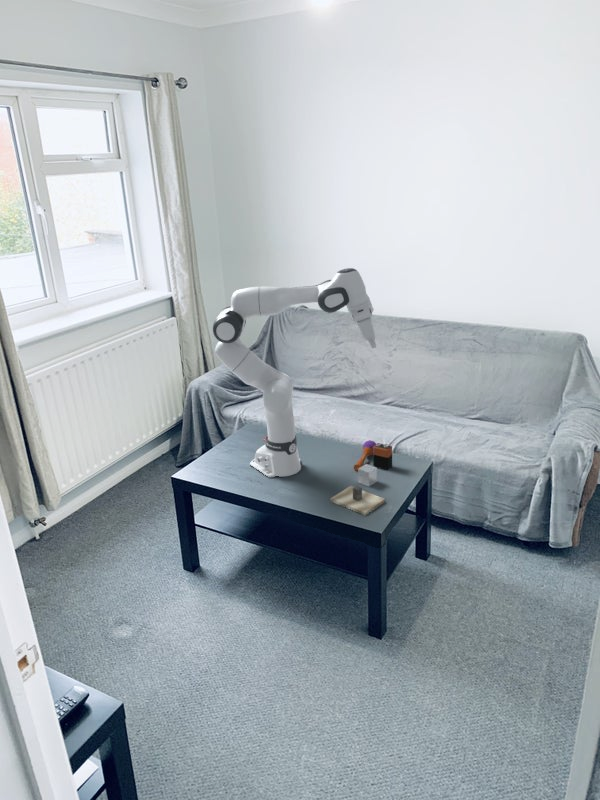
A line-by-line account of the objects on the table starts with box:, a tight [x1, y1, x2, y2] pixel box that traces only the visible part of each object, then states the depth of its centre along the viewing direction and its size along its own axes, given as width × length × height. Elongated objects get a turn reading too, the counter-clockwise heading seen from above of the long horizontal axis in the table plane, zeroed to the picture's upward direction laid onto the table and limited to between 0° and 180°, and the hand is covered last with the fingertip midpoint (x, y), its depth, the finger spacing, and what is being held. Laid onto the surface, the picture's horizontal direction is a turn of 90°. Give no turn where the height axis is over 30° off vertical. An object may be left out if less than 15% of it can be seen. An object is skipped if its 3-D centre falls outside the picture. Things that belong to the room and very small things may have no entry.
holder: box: [329, 485, 386, 516], centre depth 225 cm, size 16×12×6 cm
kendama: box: [353, 440, 377, 472], centre depth 256 cm, size 6×6×20 cm
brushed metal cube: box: [357, 463, 378, 487], centre depth 238 cm, size 5×5×6 cm
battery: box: [372, 442, 393, 471], centre depth 249 cm, size 4×7×10 cm, turn 57°
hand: (373, 343), depth 232 cm, fingers open, 8 cm apart
